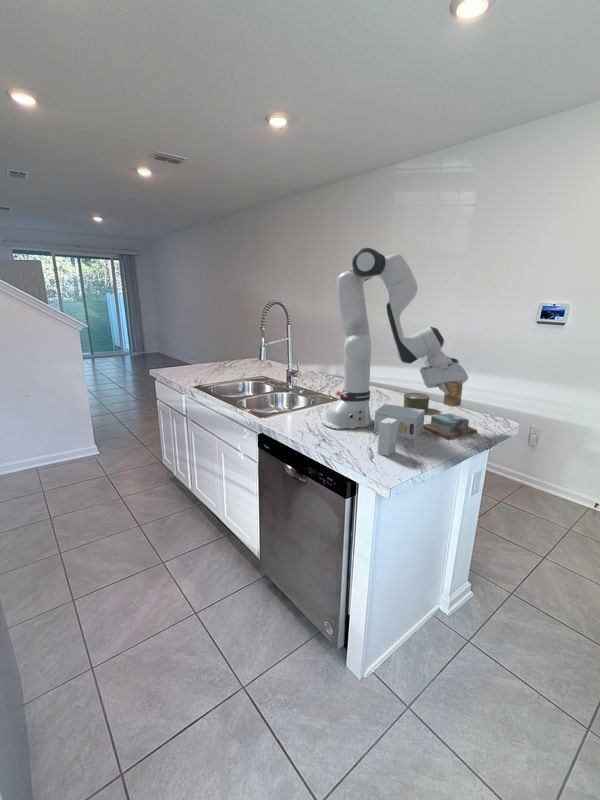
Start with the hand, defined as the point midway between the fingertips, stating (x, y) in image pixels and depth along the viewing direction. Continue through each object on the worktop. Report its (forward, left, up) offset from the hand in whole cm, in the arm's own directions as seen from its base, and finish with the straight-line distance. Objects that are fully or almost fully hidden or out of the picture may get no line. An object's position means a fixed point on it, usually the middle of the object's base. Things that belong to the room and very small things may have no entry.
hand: (454, 393), depth 146 cm
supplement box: (-19, +9, -16) cm, 27 cm away
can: (+9, +31, -16) cm, 36 cm away
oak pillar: (0, +1, -5) cm, 5 cm away
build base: (0, +1, -16) cm, 16 cm away
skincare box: (-37, -7, -16) cm, 41 cm away
